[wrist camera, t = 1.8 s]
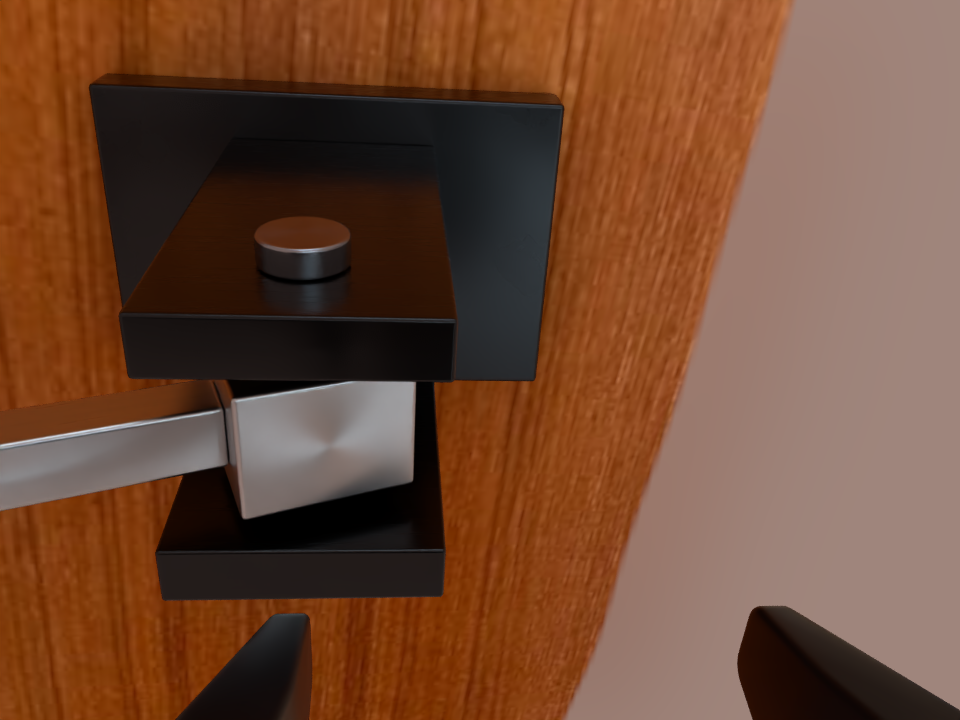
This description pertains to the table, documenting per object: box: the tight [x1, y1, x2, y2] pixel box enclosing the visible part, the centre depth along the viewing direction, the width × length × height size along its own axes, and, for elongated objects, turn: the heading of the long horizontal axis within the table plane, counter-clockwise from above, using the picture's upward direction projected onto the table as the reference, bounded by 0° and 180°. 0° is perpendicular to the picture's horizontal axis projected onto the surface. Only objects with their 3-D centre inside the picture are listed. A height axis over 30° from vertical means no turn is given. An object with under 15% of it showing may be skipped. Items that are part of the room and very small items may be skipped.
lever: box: [0, 380, 416, 520], centre depth 12 cm, size 11×6×2 cm, turn 86°
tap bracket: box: [89, 74, 564, 601], centre depth 17 cm, size 10×7×10 cm
